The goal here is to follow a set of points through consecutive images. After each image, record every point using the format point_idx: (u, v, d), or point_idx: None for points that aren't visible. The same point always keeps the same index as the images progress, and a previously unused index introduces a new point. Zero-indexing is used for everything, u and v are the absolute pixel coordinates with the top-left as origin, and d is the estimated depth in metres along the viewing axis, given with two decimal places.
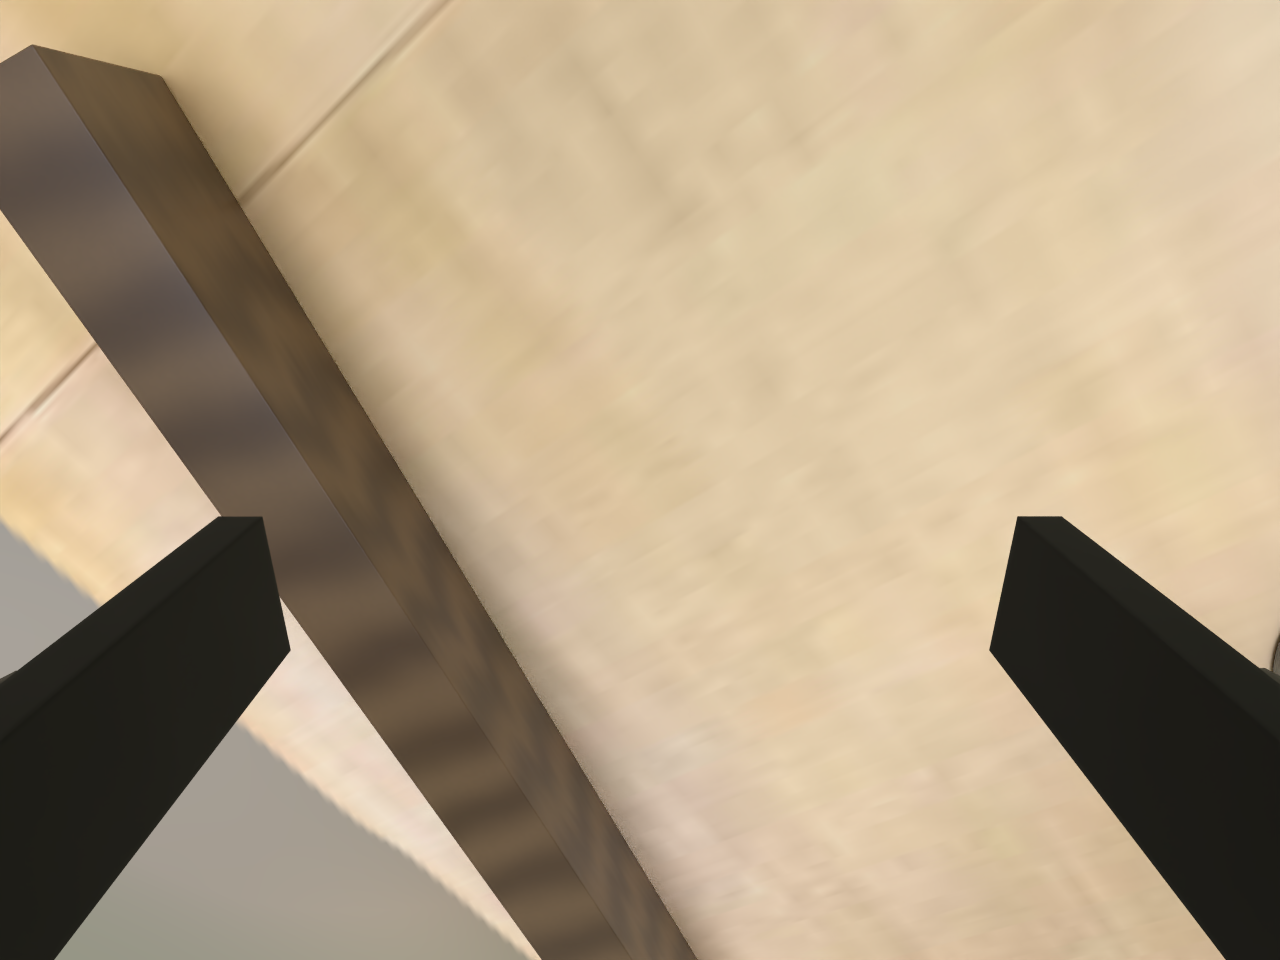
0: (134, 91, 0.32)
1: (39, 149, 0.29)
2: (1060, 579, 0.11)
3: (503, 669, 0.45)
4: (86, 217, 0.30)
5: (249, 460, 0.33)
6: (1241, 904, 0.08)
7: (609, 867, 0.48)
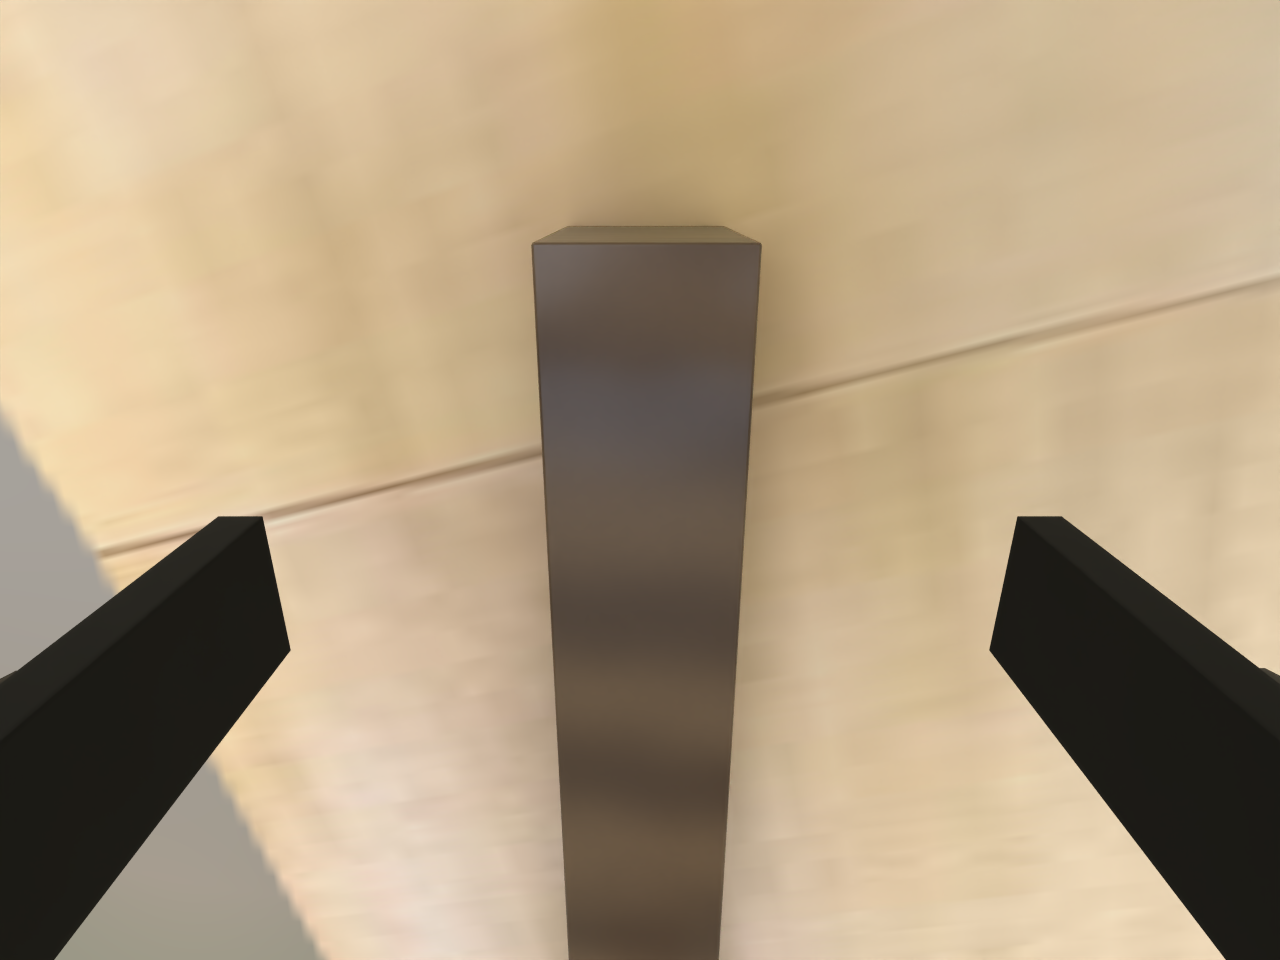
0: None
1: (662, 373, 0.17)
2: (1060, 579, 0.11)
3: None
4: (661, 478, 0.19)
5: (653, 818, 0.23)
6: (1241, 904, 0.08)
7: None
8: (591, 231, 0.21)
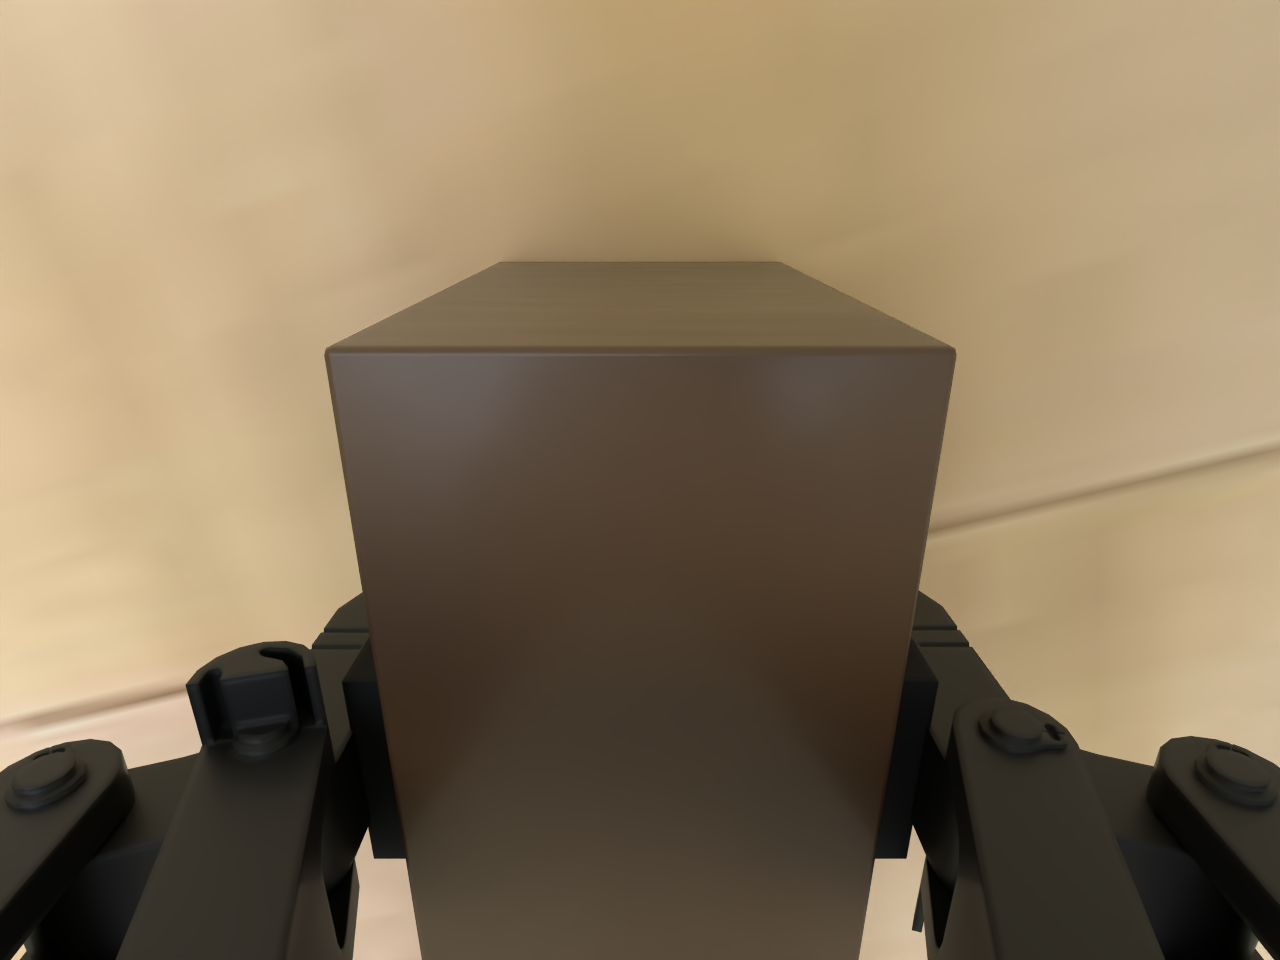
0: None
1: (681, 656, 0.07)
2: None
3: None
4: (678, 865, 0.08)
5: None
6: None
7: None
8: (529, 282, 0.10)
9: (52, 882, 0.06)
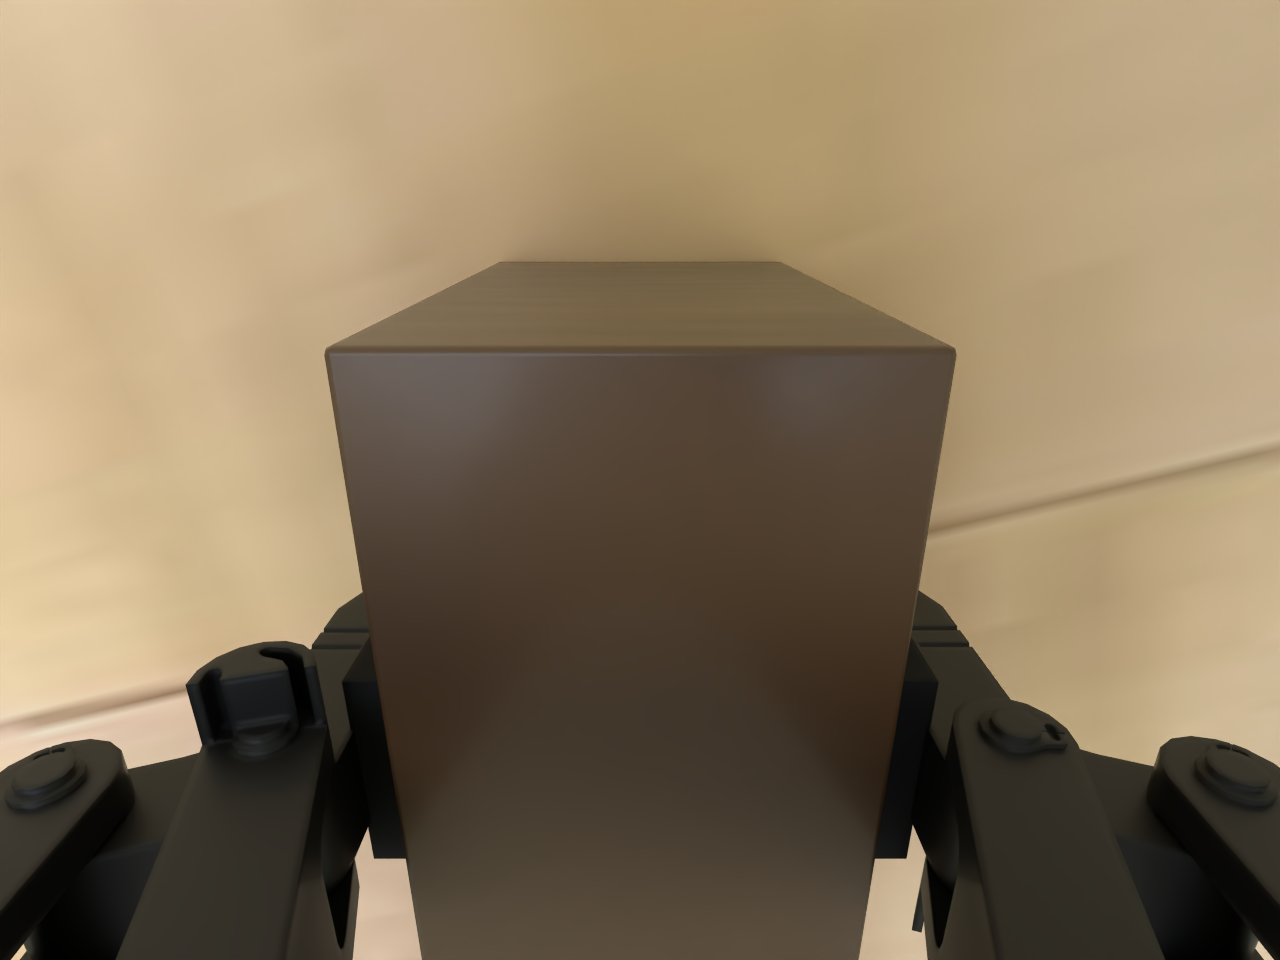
0: None
1: (681, 656, 0.07)
2: None
3: None
4: (678, 865, 0.08)
5: None
6: None
7: None
8: (529, 282, 0.10)
9: (52, 882, 0.06)
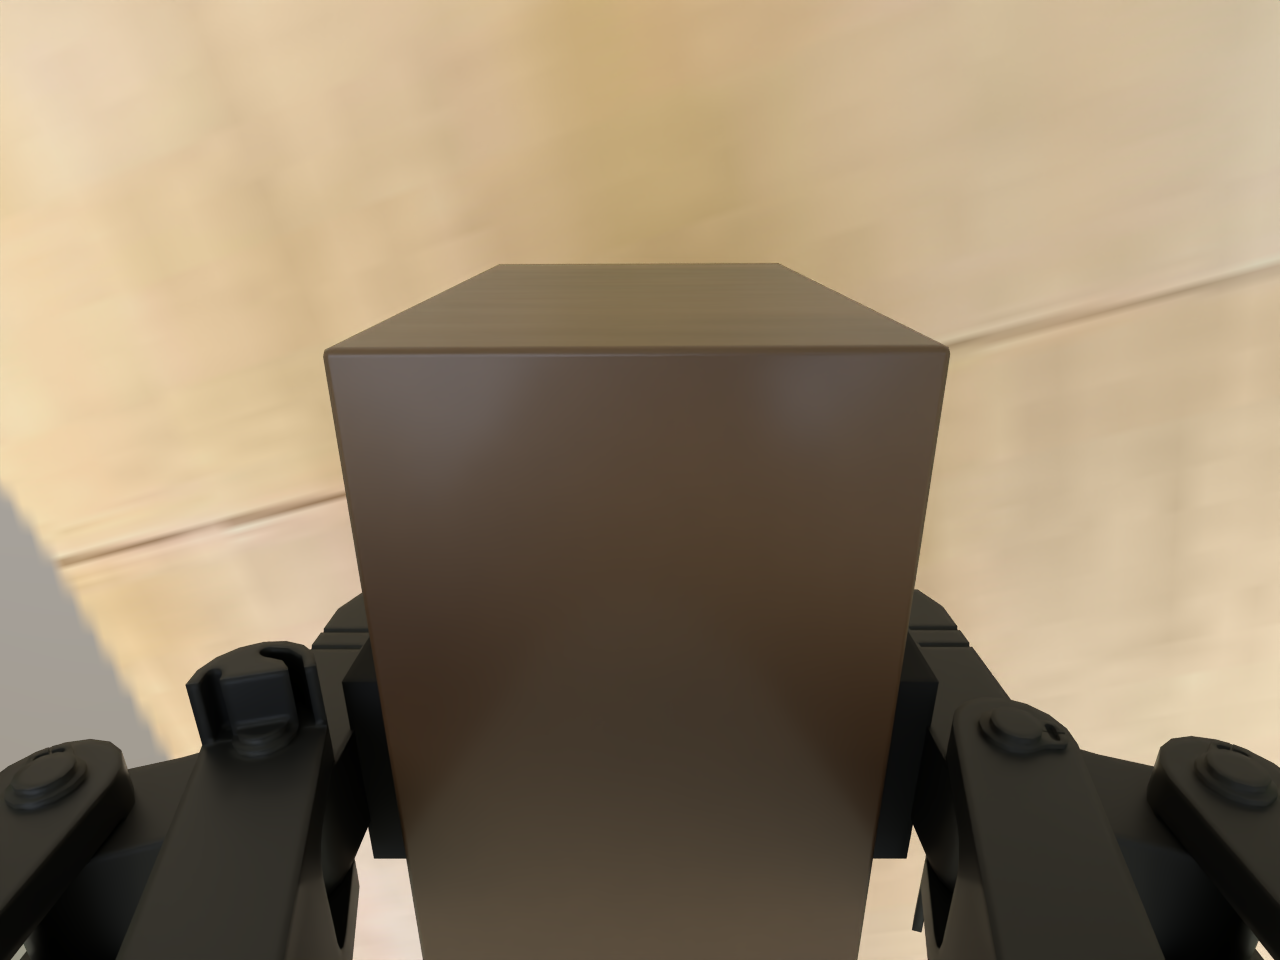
0: None
1: (678, 655, 0.07)
2: None
3: None
4: (677, 862, 0.08)
5: None
6: None
7: None
8: (528, 284, 0.10)
9: (52, 882, 0.06)
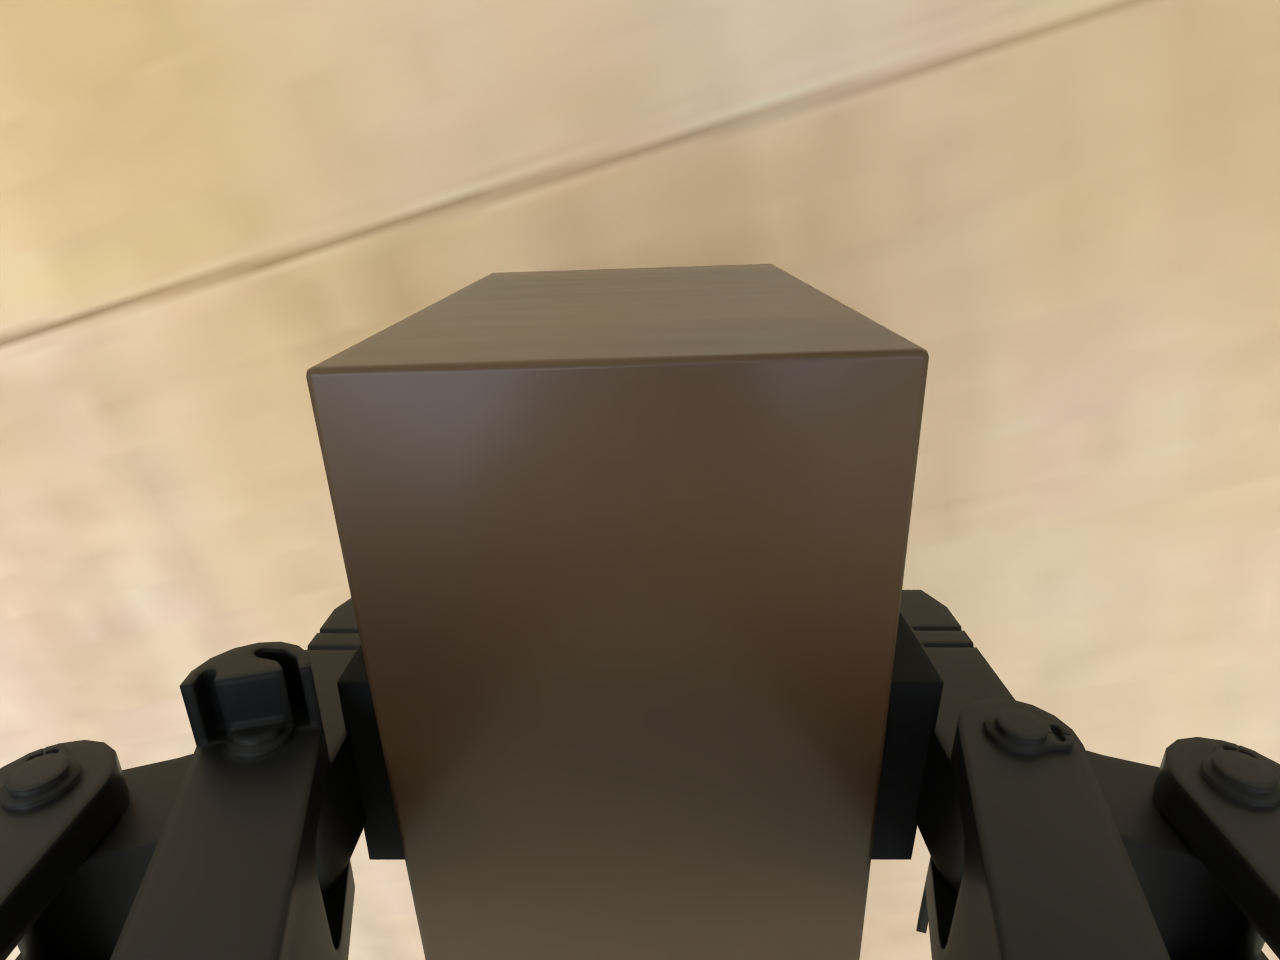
0: None
1: (668, 662, 0.07)
2: None
3: None
4: (674, 868, 0.08)
5: None
6: None
7: None
8: (518, 293, 0.10)
9: (46, 883, 0.06)
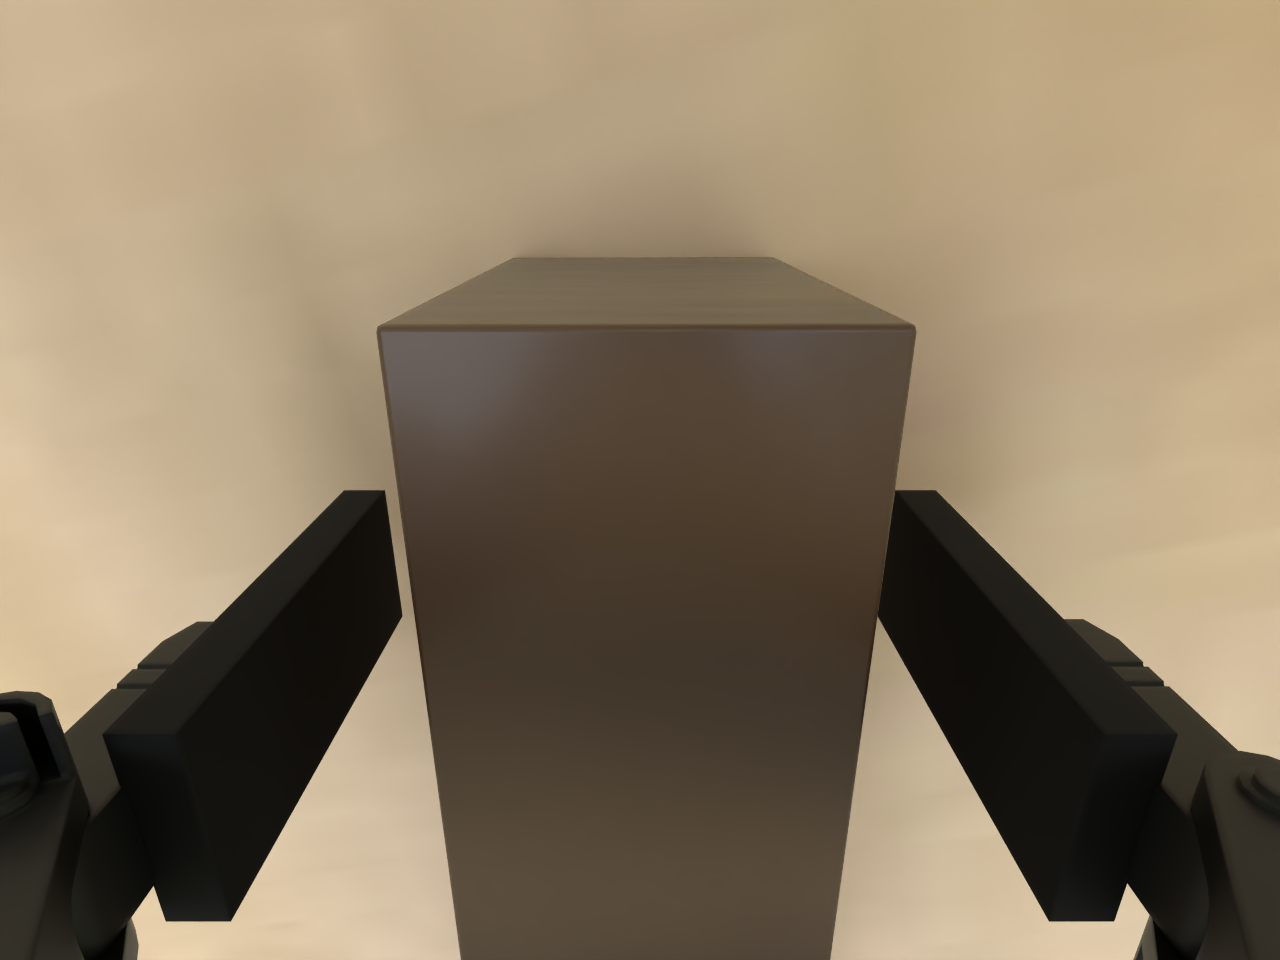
0: None
1: (681, 598, 0.08)
2: (921, 544, 0.12)
3: None
4: (680, 789, 0.09)
5: None
6: (1027, 817, 0.09)
7: None
8: (543, 275, 0.11)
9: None
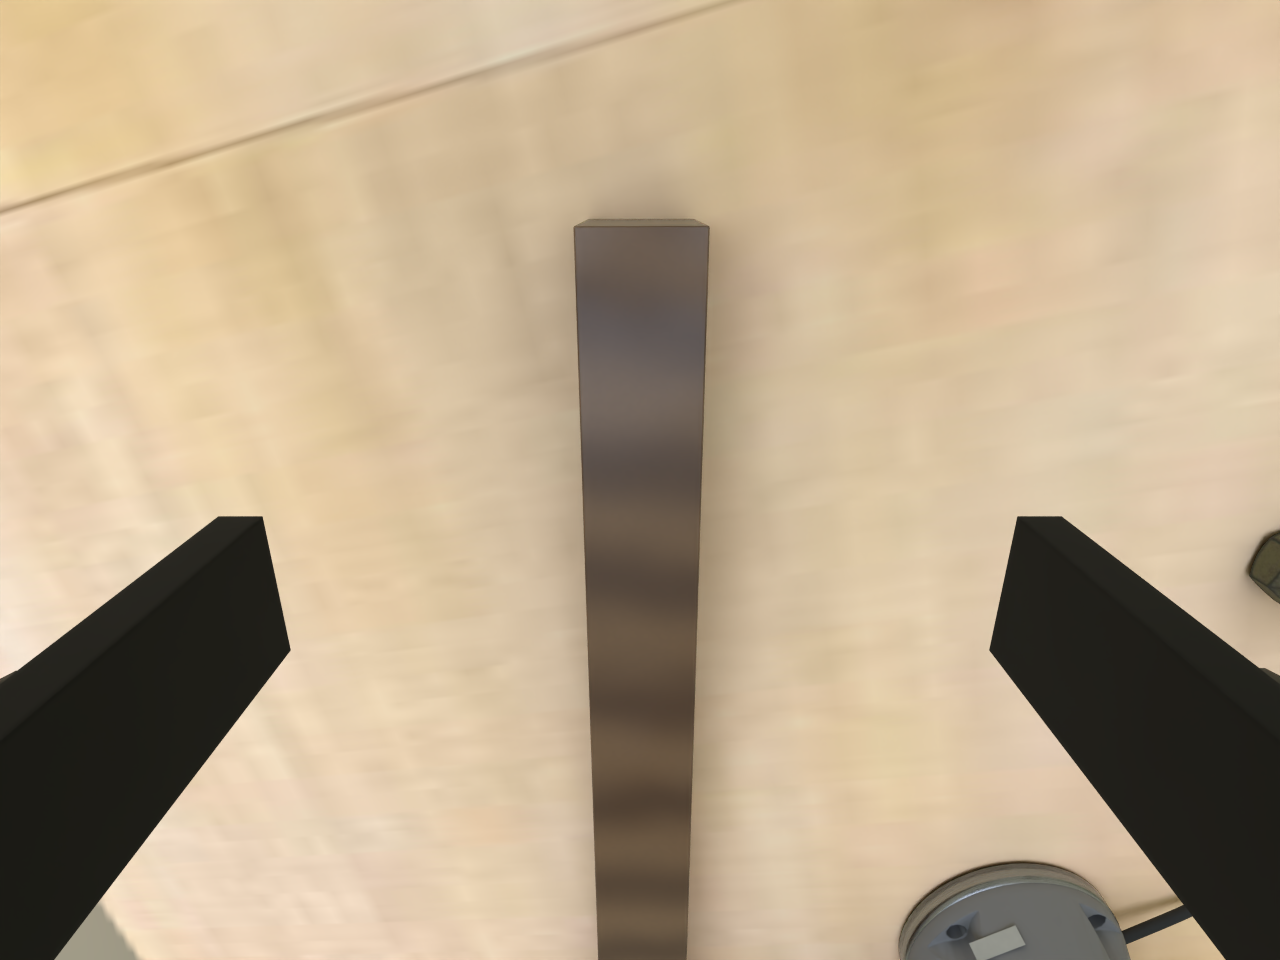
0: None
1: (651, 305, 0.29)
2: (1060, 579, 0.11)
3: None
4: (652, 373, 0.30)
5: (648, 613, 0.34)
6: (1241, 904, 0.08)
7: None
8: (606, 221, 0.32)
9: None
